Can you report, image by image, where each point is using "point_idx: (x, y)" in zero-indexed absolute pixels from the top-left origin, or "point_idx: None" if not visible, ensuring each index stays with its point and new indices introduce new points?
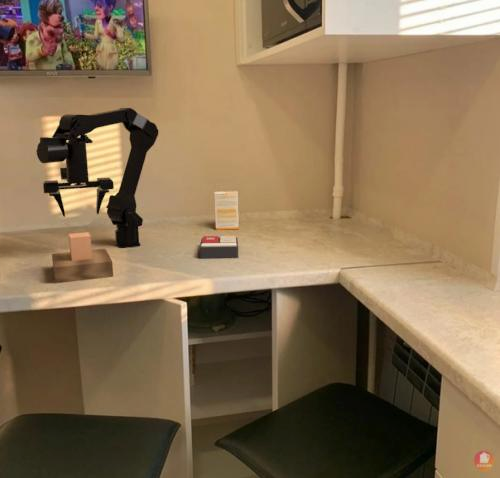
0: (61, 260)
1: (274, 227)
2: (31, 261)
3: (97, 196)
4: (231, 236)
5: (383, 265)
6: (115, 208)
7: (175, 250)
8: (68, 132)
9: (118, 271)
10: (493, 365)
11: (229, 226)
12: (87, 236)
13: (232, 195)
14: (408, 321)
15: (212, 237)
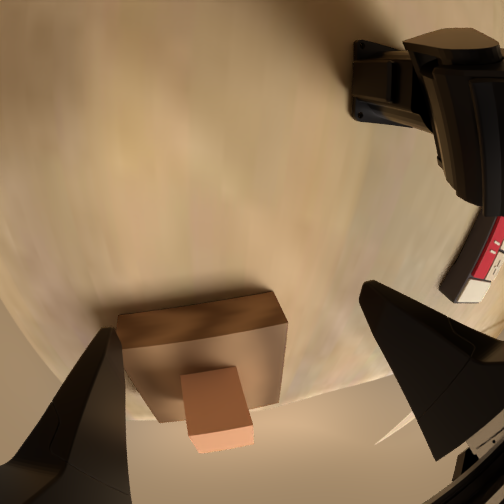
0: (163, 397)
1: None
2: (26, 227)
3: (443, 396)
4: None
5: (494, 325)
6: (486, 185)
7: (447, 216)
8: None
9: (285, 353)
10: (389, 435)
11: None
12: (245, 445)
13: None
14: (409, 413)
15: (502, 232)
